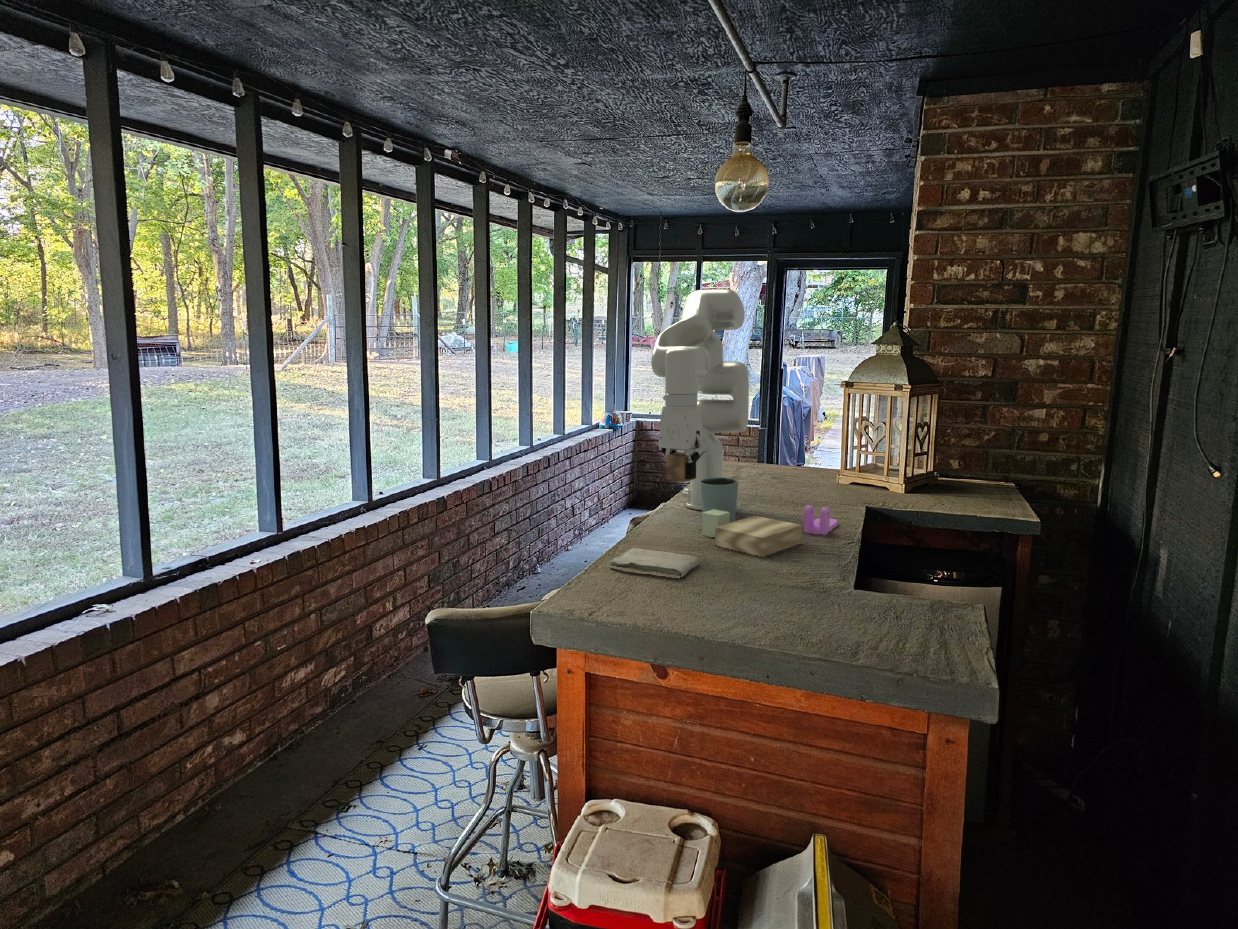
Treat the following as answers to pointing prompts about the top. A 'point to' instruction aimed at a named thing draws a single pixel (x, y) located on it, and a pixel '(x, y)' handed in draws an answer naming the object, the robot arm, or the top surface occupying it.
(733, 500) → the teal cylinder
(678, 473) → the walnut cube
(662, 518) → the top surface
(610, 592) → the top surface
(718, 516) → the sage cube
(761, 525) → the birch block
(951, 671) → the top surface
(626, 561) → the washcloth
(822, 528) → the bracket
